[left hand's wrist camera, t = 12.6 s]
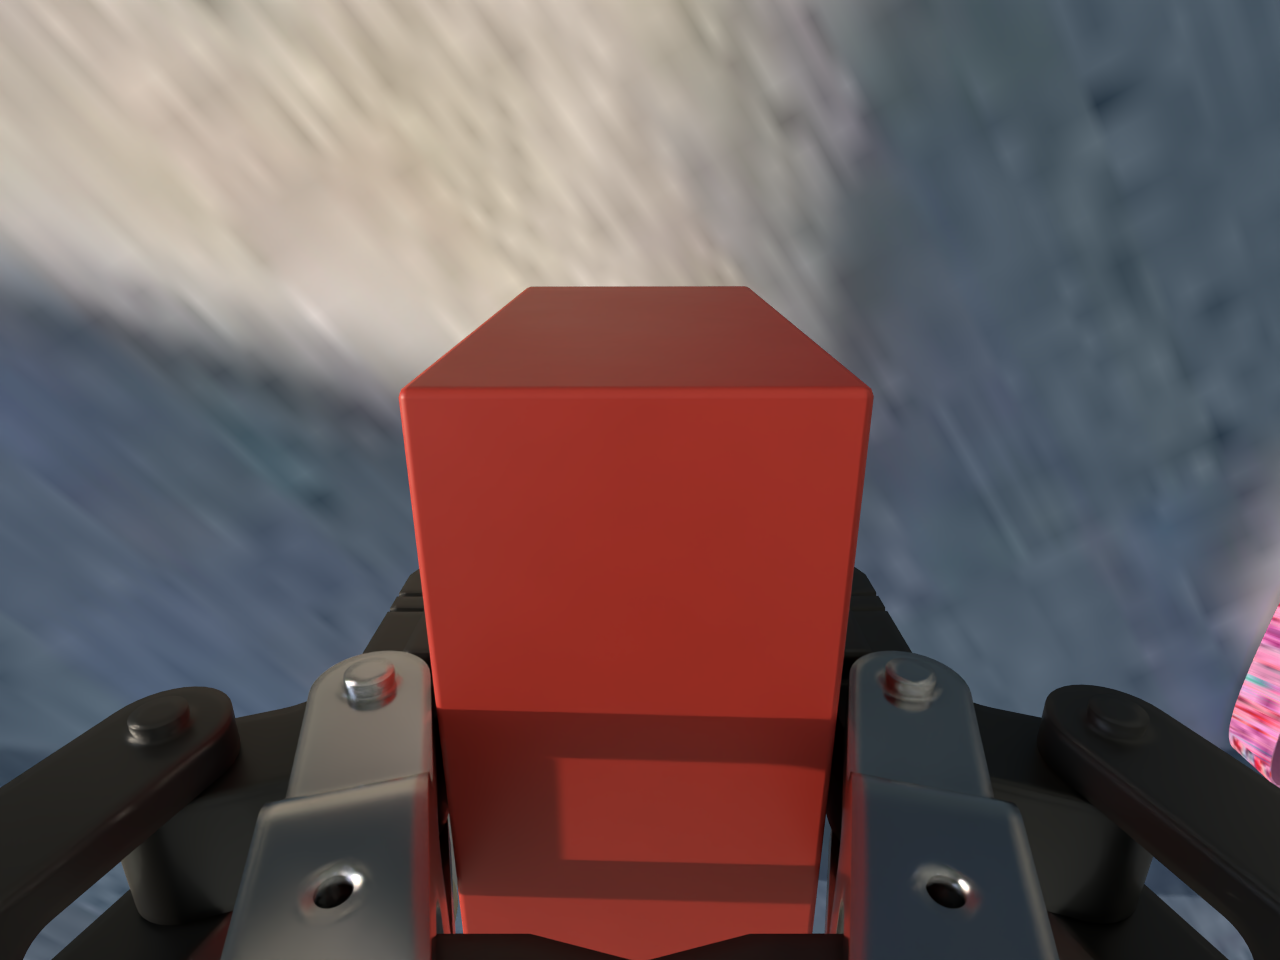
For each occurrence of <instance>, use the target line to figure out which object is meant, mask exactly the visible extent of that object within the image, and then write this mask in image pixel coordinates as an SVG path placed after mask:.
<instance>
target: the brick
mask: <svg viewBox="0 0 1280 960" xmlns="http://www.w3.org/2000/svg"><path fill="white" fill-rule="evenodd" d="M873 398H874V396H873V393H872V390H871V388H870V387H868V386H867V385H866V384H865V383H863V382H862V381H861V380H860V379H859V378H857V377H856V376H855V375H854V374H853V373H851V372H850V371H849V370H848V369H846V368H845V367H844V366H843V365H842V364H840V363H839V362H838V361H837V360H836V359H834V358H833V357H832V356H831V355H830V354H828V353H827V352H826V351H825V350H823V349H822V348H821V347H820V346H819V345H817V344H816V343H815V342H814V341H813V340H811V339H810V338H809V337H808V336H807V335H805V334H804V333H803V332H802V331H800V330H799V329H798V328H797V327H796V326H794V325H793V324H792V323H791V322H790V321H788V320H787V319H786V318H785V317H783V316H782V315H781V314H780V313H779V312H777V311H776V310H775V309H774V308H773V307H771V306H770V305H769V304H768V303H767V302H765V301H764V300H763V299H762V298H760V297H759V296H758V295H757V294H756V293H754V292H753V291H752V290H751V289H750V288H748V287H745V286H708V287H529V288H527V289H526V290H524V291H523V292H522V293H521V294H519V295H518V296H517V297H516V298H514V299H513V300H512V301H511V302H509V303H508V304H507V305H506V306H504V307H503V308H502V309H501V310H499V311H498V312H497V313H496V314H494V315H493V316H492V317H491V318H489V319H488V320H487V321H486V322H484V323H483V324H482V325H481V326H480V327H478V328H477V329H476V330H475V331H473V332H472V333H471V334H470V335H468V336H467V337H466V338H465V339H463V340H462V341H461V342H460V343H458V344H457V345H456V346H455V347H453V348H452V349H451V350H450V351H448V352H447V353H446V354H445V355H443V356H442V357H441V358H440V359H438V360H437V361H436V362H435V363H434V364H432V365H431V366H430V367H429V368H427V369H426V370H425V371H424V372H422V373H421V374H420V375H419V376H417V377H416V378H415V379H414V380H412V381H411V382H410V383H409V384H407V385H406V386H405V387H404V388H402V389H401V392H400V395H399V403H400V411H401V420H402V428H403V436H404V445H405V453H406V461H407V469H408V478H409V486H410V494H411V502H412V511H413V519H414V527H415V536H416V544H417V552H418V560H419V569H420V577H421V585H422V593H423V602H424V610H425V618H426V627H427V635H428V643H429V651H430V660H431V668H432V676H433V685H434V693H435V701H436V709H437V718H438V726H439V734H440V742H441V751H442V759H443V767H444V776H445V784H446V792H447V800H448V809H449V817H450V825H451V833H452V842H453V850H454V858H455V867H456V875H457V883H458V891H459V900H460V908H461V916H462V924H463V933H464V934H533V935H537V936H541V937H545V938H549V939H553V940H556V941H560V942H564V943H568V944H572V945H576V946H580V947H583V948H587V949H591V950H595V951H599V952H603V953H607V954H611V955H614V956H618V957H622V958H626V959H631V960H649V959H654V958H658V957H662V956H666V955H669V954H673V953H677V952H681V951H685V950H689V949H693V948H697V947H700V946H704V945H708V944H712V943H716V942H720V941H724V940H727V939H731V938H735V937H739V936H743V935H747V934H812V931H813V922H814V913H815V904H816V896H817V887H818V878H819V869H820V861H821V852H822V843H823V834H824V826H825V817H826V808H827V800H828V791H829V782H830V773H831V765H832V756H833V747H834V738H835V730H836V721H837V712H838V703H839V695H840V686H841V677H842V668H843V660H844V651H845V642H846V634H847V625H848V616H849V607H850V599H851V590H852V581H853V572H854V564H855V555H856V546H857V537H858V529H859V520H860V511H861V503H862V494H863V485H864V476H865V468H866V459H867V450H868V441H869V433H870V424H871V415H872V406H873Z"/></svg>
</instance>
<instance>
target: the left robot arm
mask: <svg viewBox="0 0 1280 960" xmlns="http://www.w3.org/2000/svg"><path fill="white" fill-rule="evenodd" d="M448 814H449V809H448V800H447V792H446V784H445V776H444V767H443V759H442V751H441V742H440V734H439V726H438V718H437V709H436V701H435V693H434V685H433V676H432V668H431V660H430V651H429V643H428V635H427V627H426V618H425V610H424V602H423V593H422V585H421V577H420V569H418V570H417V571H415V572H414V573H413V574H411V575H410V576H409V578H408V580H407V581H406V583H405V585H404V586H403V588H402V589H401V591H400V593H399V597H397V598H396V599H395V601H394V603H393V604H392V606H391V608H390V612H388V613H387V614H386V616H385V617H384V619H383V621H382V622H381V624H380V626H379V627H378V629H377V631H376V632H375V634H374V636H373V637H372V639H371V641H370V642H369V644H368V646H367V647H366V649H365V650H364V652H363V654H361V655H358V656H354V657H351V658H349V659H346V660H344V661H342V662H340V663H338V664H336V665H334V666H332V667H331V668H329V669H328V670H326V671H325V672H324V673H323V674H321V675H320V676H319V677H318V679H317V680H316V681H315V682H314V684H313V685H312V687H311V689H310V692H309V695H308V700H307V702H304V703H301V704H298V705H295V706H291V707H287V708H283V709H279V710H274V711H269V712H264V713H259V714H254V715H249V716H244V717H239V718H235V715H234V711H233V707H232V703H231V700H230V698H229V697H228V696H227V695H226V694H225V693H223V692H222V691H220V690H217V689H214V688H208V687H183V688H177V689H171V690H167V691H163V692H159V693H156V694H153V695H150V696H147V697H145V698H142V699H140V700H138V701H135V702H133V703H131V704H129V705H127V706H125V707H124V708H122V709H120V710H119V711H117V712H115V713H114V714H112V715H111V716H109V717H108V718H106V719H105V720H103V721H102V722H100V723H99V724H97V725H96V726H94V727H92V728H91V729H89V730H88V731H86V732H85V733H83V734H82V735H80V736H79V737H77V738H76V739H74V740H73V741H71V742H70V743H68V744H67V745H65V746H63V747H62V748H60V749H59V750H57V751H56V752H54V753H53V754H51V755H50V756H48V757H47V758H45V759H44V760H42V761H41V762H39V763H38V764H36V765H35V766H33V767H31V768H30V769H28V770H27V771H25V772H24V773H22V774H21V775H19V776H18V777H16V778H15V779H13V780H12V781H10V782H9V783H7V784H6V785H4V786H2V787H1V788H0V960H23V958H24V956H25V954H26V952H27V950H28V948H29V947H30V945H31V943H32V942H33V940H34V939H35V938H36V936H37V935H38V934H39V933H40V931H41V930H42V929H43V928H44V927H45V926H46V925H47V924H48V923H49V922H50V921H51V920H52V919H54V918H55V917H56V916H57V915H58V914H59V913H61V912H62V911H63V910H64V909H65V908H66V907H68V906H69V905H70V904H71V903H72V902H74V901H75V900H76V899H77V898H78V897H79V896H81V895H82V894H83V893H84V892H85V891H86V890H88V889H89V888H90V887H91V886H92V885H94V884H95V883H96V882H97V881H98V880H99V879H101V878H102V877H103V876H104V875H105V874H106V873H108V872H109V871H110V870H111V869H112V868H113V867H115V866H116V865H117V864H118V863H119V862H121V863H122V866H123V869H124V872H125V875H126V878H127V881H128V884H129V887H130V890H129V891H127V892H126V893H125V894H124V895H123V896H122V897H121V898H120V899H119V900H117V901H116V902H115V903H114V904H113V905H112V906H111V907H110V908H108V909H107V910H106V911H105V912H104V913H103V914H102V915H101V916H100V917H98V918H97V919H96V920H95V921H94V922H93V923H92V924H91V925H90V926H88V927H87V928H86V929H85V930H84V931H83V932H82V933H81V934H80V935H78V936H77V937H76V938H75V939H74V940H73V941H72V942H71V943H70V944H68V945H67V946H66V947H65V948H64V949H63V950H62V951H61V952H59V953H58V954H57V955H56V956H55V957H54V958H53V959H52V960H631V959H626V958H622V957H618V956H614V955H611V954H607V953H603V952H599V951H595V950H591V949H587V948H583V947H580V946H576V945H572V944H568V943H564V942H560V941H556V940H553V939H549V938H545V937H541V936H537V935H533V934H455V916H454V896H453V875H452V855H451V841H450V833H449V824H448ZM826 814H827V818H828V821H829V824H830V826H831V832H830V841H829V854H828V875H827V895H826V916H825V934H747V935H743V936H739V937H735V938H731V939H727V940H724V941H720V942H716V943H712V944H708V945H704V946H700V947H697V948H693V949H689V950H685V951H681V952H677V953H673V954H669V955H666V956H662V957H658V958H654V959H649V960H1228V959H1227V958H1226V957H1225V956H1224V955H1223V954H1222V953H1221V952H1219V951H1218V950H1217V949H1216V948H1215V947H1214V946H1213V945H1212V944H1210V943H1209V942H1208V941H1207V940H1206V939H1205V938H1204V937H1203V936H1202V935H1200V934H1199V933H1198V932H1197V931H1196V930H1195V929H1194V928H1193V927H1192V926H1190V925H1189V924H1188V923H1187V922H1186V921H1185V920H1184V919H1183V918H1182V917H1180V916H1179V915H1178V914H1177V913H1176V912H1175V911H1174V910H1173V909H1171V908H1170V907H1169V906H1168V905H1167V904H1166V903H1165V902H1164V901H1163V900H1161V899H1160V898H1159V897H1158V896H1157V895H1156V894H1155V893H1154V892H1153V891H1151V890H1150V889H1149V888H1148V887H1147V886H1146V885H1145V884H1144V882H1145V879H1146V876H1147V873H1148V870H1149V867H1150V864H1151V861H1152V858H1153V856H1154V857H1155V858H1156V859H1157V860H1158V861H1159V862H1161V863H1162V864H1163V865H1164V866H1165V867H1167V868H1168V869H1169V870H1170V871H1171V872H1172V873H1174V874H1175V875H1176V876H1177V877H1178V878H1179V879H1181V880H1182V881H1183V882H1184V883H1185V884H1186V885H1188V886H1189V887H1190V888H1191V889H1192V890H1194V891H1195V892H1196V893H1197V894H1198V895H1199V896H1201V897H1202V898H1203V899H1204V900H1205V901H1206V902H1208V903H1209V904H1210V905H1211V906H1212V907H1213V908H1215V909H1216V910H1217V911H1218V912H1219V913H1221V914H1222V915H1223V916H1224V917H1225V918H1226V919H1227V920H1228V921H1229V922H1230V923H1231V924H1232V925H1233V926H1234V927H1235V928H1236V929H1237V930H1238V932H1239V933H1240V934H1241V936H1242V937H1243V939H1244V940H1245V942H1246V944H1247V945H1248V947H1249V949H1250V951H1251V953H1252V956H1253V959H1254V960H1280V788H1279V787H1277V786H1276V785H1274V784H1273V783H1271V782H1270V781H1268V780H1267V779H1265V778H1264V777H1262V776H1261V775H1259V774H1258V773H1256V772H1255V771H1253V770H1252V769H1250V768H1249V767H1247V766H1245V765H1244V764H1242V763H1241V762H1239V761H1238V760H1236V759H1235V758H1233V757H1232V756H1230V755H1229V754H1227V753H1226V752H1224V751H1223V750H1221V749H1220V748H1218V747H1217V746H1215V745H1213V744H1212V743H1210V742H1209V741H1207V740H1206V739H1204V738H1203V737H1201V736H1200V735H1198V734H1197V733H1195V732H1194V731H1192V730H1191V729H1189V728H1188V727H1186V726H1184V725H1183V724H1181V723H1180V722H1178V721H1177V720H1175V719H1174V718H1172V717H1171V716H1169V715H1168V714H1166V713H1165V712H1163V711H1162V710H1160V709H1158V708H1157V707H1155V706H1153V705H1152V704H1150V703H1148V702H1146V701H1144V700H1142V699H1139V698H1137V697H1134V696H1132V695H1130V694H1127V693H1124V692H1121V691H1117V690H1114V689H1110V688H1105V687H1100V686H1093V685H1070V686H1064V687H1061V688H1058V689H1056V690H1054V691H1053V692H1051V693H1050V694H1049V696H1048V697H1047V699H1046V702H1045V706H1044V710H1043V714H1042V718H1040V717H1035V716H1030V715H1025V714H1020V713H1015V712H1010V711H1005V710H1000V709H995V708H991V707H987V706H983V705H979V704H976V703H973V700H972V695H971V692H970V689H969V687H968V685H967V684H966V682H965V681H964V680H963V679H962V677H961V676H960V675H959V674H957V673H956V672H955V671H954V670H952V669H951V668H949V667H948V666H946V665H944V664H942V663H940V662H938V661H936V660H934V659H931V658H929V657H926V656H922V655H919V654H915V653H912V652H911V650H910V648H909V647H908V645H907V643H906V642H905V640H904V638H903V637H902V635H901V633H900V632H899V630H898V628H897V627H896V625H895V623H894V622H893V620H892V618H891V617H890V615H889V613H888V612H887V611H885V606H884V605H883V603H882V601H881V600H880V598H879V596H876V591H875V590H874V588H873V586H872V585H871V583H870V581H869V580H868V578H867V576H866V575H865V574H864V573H862V572H861V571H860V570H858V569H857V568H855V567H854V572H853V581H852V590H851V599H850V607H849V616H848V625H847V634H846V642H845V651H844V660H843V668H842V677H841V686H840V695H839V703H838V712H837V721H836V730H835V738H834V747H833V756H832V765H831V773H830V782H829V791H828V800H827V808H826Z"/></svg>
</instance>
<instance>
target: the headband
mask: <svg viewBox="0 0 1280 960" xmlns="http://www.w3.org/2000/svg"><path fill="white" fill-rule="evenodd" d="M1229 740H1230V744H1231V746H1232V747H1233V748H1234V749H1235V750H1236V751H1237V752H1238V753H1240V754H1241V755H1242V756H1243V757H1244V758H1245V759H1246V760H1247V761H1248V762H1249V763H1250V764H1251V765H1252V766H1254V767H1255V768H1256V769H1257V770H1258V771H1259V772H1260V773H1261V774H1262V775H1263V776H1264V777H1265V778H1267V779H1268V780H1269V781H1270V782H1271V783H1273V784H1274V785H1276V786H1277V787H1279V788H1280V604H1279V606H1278V608H1277V610H1276V612H1275V614H1274V616H1273V618H1272V620H1271V622H1270V624H1269V626H1268V629H1267V631H1266V633H1265V635H1264V637H1263V639H1262V642H1261V644H1260V646H1259V648H1258V650H1257V653H1256V655H1255V657H1254V660H1253V662H1252V664H1251V666H1250V669H1249V671H1248V674H1247V676H1246V678H1245V681H1244V683H1243V686H1242V688H1241V691H1240V694H1239V696H1238V699H1237V702H1236V705H1235V708H1234V711H1233V715H1232V718H1231V723H1230V729H1229Z"/></svg>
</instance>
